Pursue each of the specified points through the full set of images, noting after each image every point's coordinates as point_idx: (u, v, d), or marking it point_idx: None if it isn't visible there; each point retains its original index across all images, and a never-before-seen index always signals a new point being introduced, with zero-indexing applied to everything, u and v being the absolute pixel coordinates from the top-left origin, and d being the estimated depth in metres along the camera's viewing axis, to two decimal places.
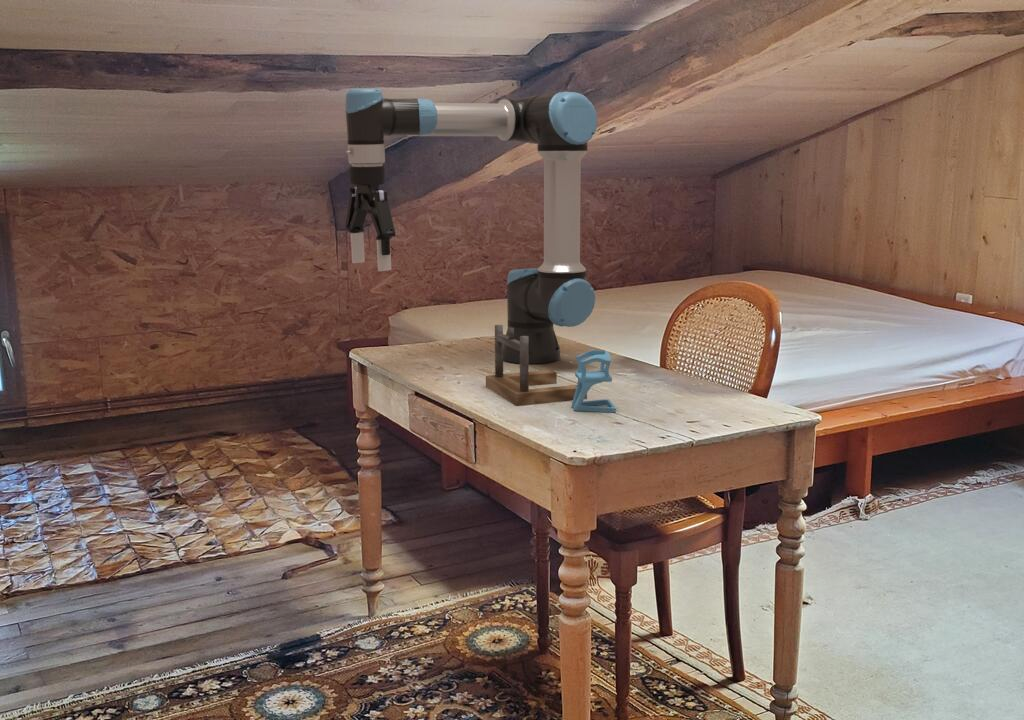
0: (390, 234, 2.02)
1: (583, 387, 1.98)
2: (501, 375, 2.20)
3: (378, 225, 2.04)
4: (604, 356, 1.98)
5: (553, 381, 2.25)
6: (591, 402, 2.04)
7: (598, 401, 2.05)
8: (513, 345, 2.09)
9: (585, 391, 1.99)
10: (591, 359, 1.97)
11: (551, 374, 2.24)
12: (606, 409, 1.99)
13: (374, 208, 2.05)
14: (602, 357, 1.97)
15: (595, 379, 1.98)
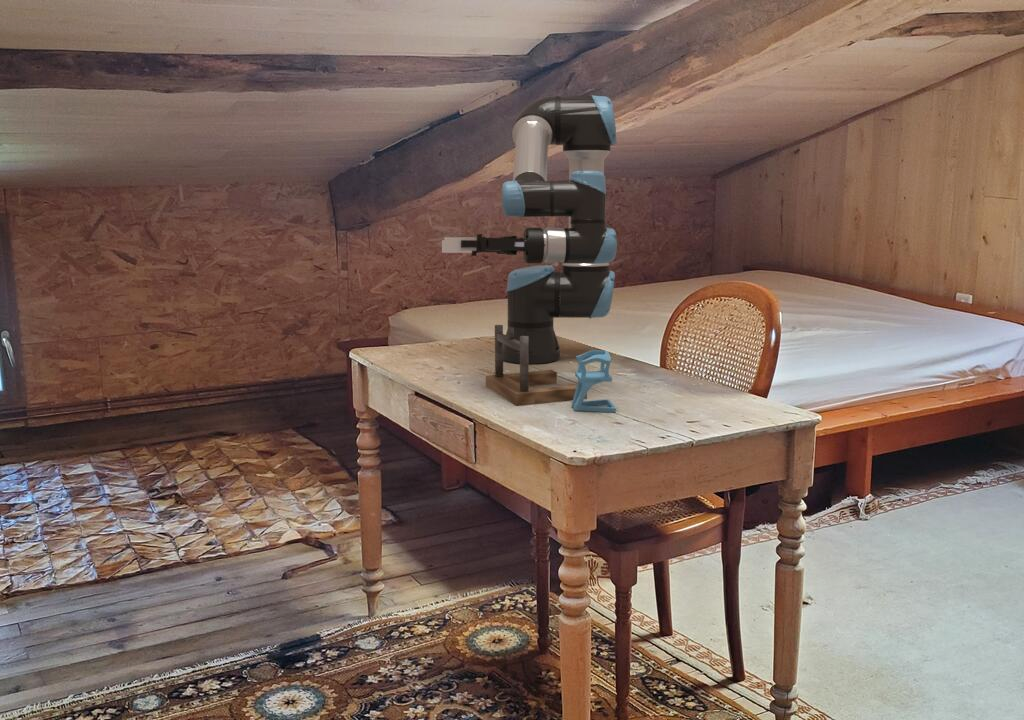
0: None
1: (583, 387, 1.98)
2: (501, 375, 2.20)
3: None
4: (604, 356, 1.98)
5: (553, 381, 2.25)
6: (591, 402, 2.04)
7: (598, 401, 2.05)
8: (513, 345, 2.09)
9: (585, 391, 1.99)
10: (591, 359, 1.97)
11: (551, 374, 2.24)
12: (606, 409, 1.99)
13: None
14: (602, 357, 1.97)
15: (595, 379, 1.98)
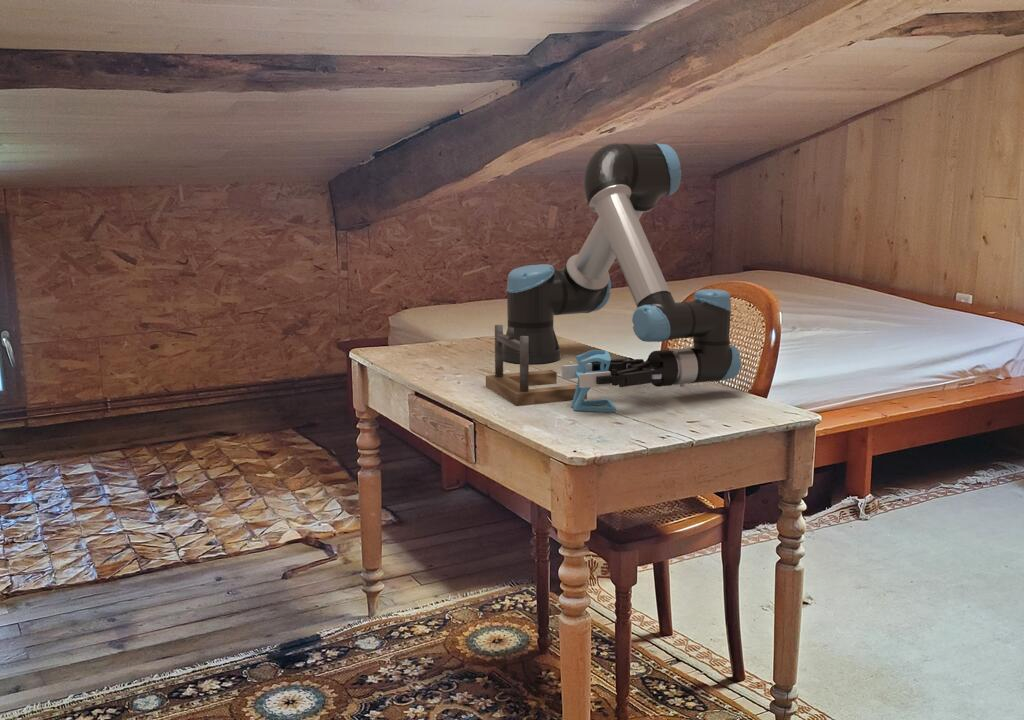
0: None
1: None
2: (501, 375, 2.20)
3: None
4: (604, 356, 1.98)
5: (553, 381, 2.25)
6: (591, 402, 2.04)
7: (598, 401, 2.05)
8: (513, 345, 2.09)
9: (585, 391, 1.99)
10: (591, 359, 1.97)
11: (551, 374, 2.24)
12: (606, 409, 1.99)
13: None
14: (602, 357, 1.97)
15: None
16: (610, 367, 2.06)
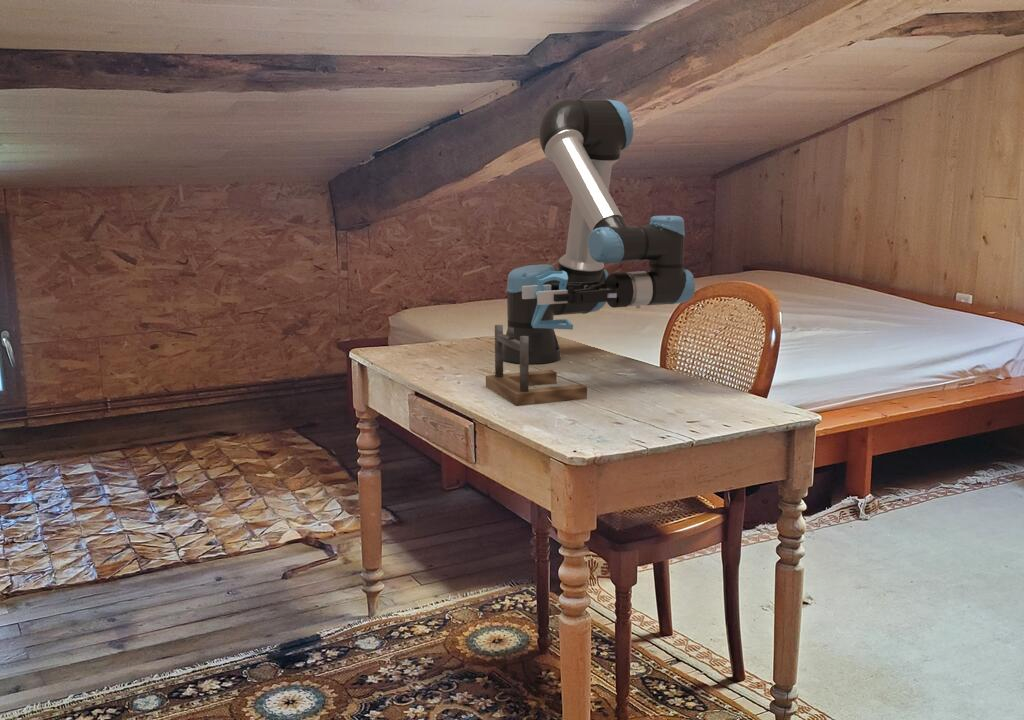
0: None
1: (541, 305, 2.07)
2: (501, 375, 2.20)
3: None
4: (561, 275, 2.07)
5: (553, 381, 2.25)
6: (550, 321, 2.13)
7: (557, 320, 2.14)
8: (513, 345, 2.09)
9: (543, 309, 2.08)
10: (549, 278, 2.06)
11: (551, 374, 2.24)
12: (563, 326, 2.08)
13: None
14: (559, 275, 2.06)
15: None
16: (569, 288, 2.15)
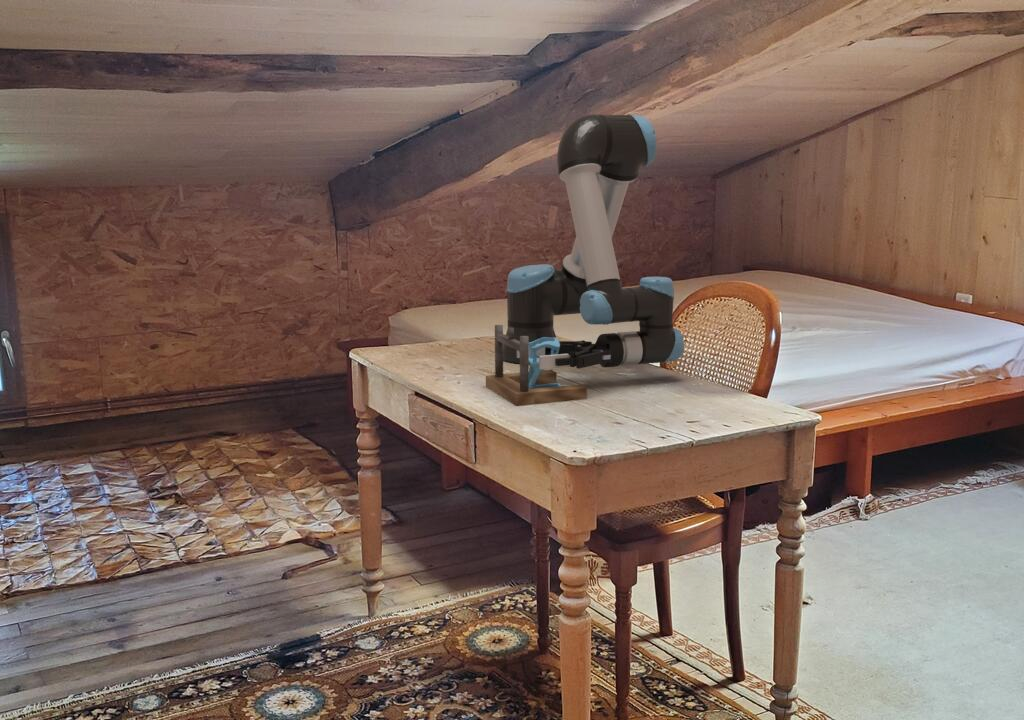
0: None
1: (534, 371, 2.13)
2: (501, 375, 2.20)
3: None
4: (553, 342, 2.12)
5: (553, 381, 2.25)
6: (542, 386, 2.19)
7: (549, 385, 2.19)
8: (513, 345, 2.09)
9: (536, 375, 2.13)
10: (541, 345, 2.12)
11: (551, 374, 2.24)
12: None
13: None
14: (552, 343, 2.12)
15: None
16: (561, 348, 2.22)
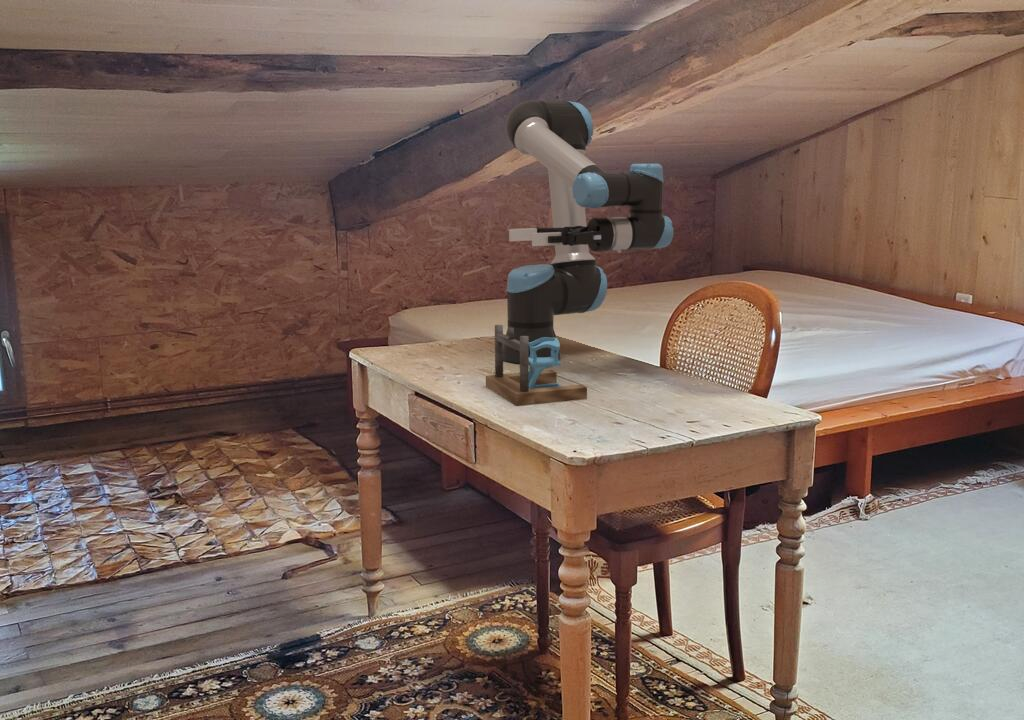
0: None
1: (534, 371, 2.13)
2: (501, 375, 2.20)
3: None
4: (554, 342, 2.12)
5: (553, 381, 2.25)
6: (542, 386, 2.19)
7: (549, 385, 2.19)
8: (513, 345, 2.09)
9: (536, 375, 2.13)
10: (541, 345, 2.12)
11: (551, 374, 2.24)
12: None
13: None
14: (552, 343, 2.12)
15: (545, 364, 2.12)
16: (552, 232, 2.25)
